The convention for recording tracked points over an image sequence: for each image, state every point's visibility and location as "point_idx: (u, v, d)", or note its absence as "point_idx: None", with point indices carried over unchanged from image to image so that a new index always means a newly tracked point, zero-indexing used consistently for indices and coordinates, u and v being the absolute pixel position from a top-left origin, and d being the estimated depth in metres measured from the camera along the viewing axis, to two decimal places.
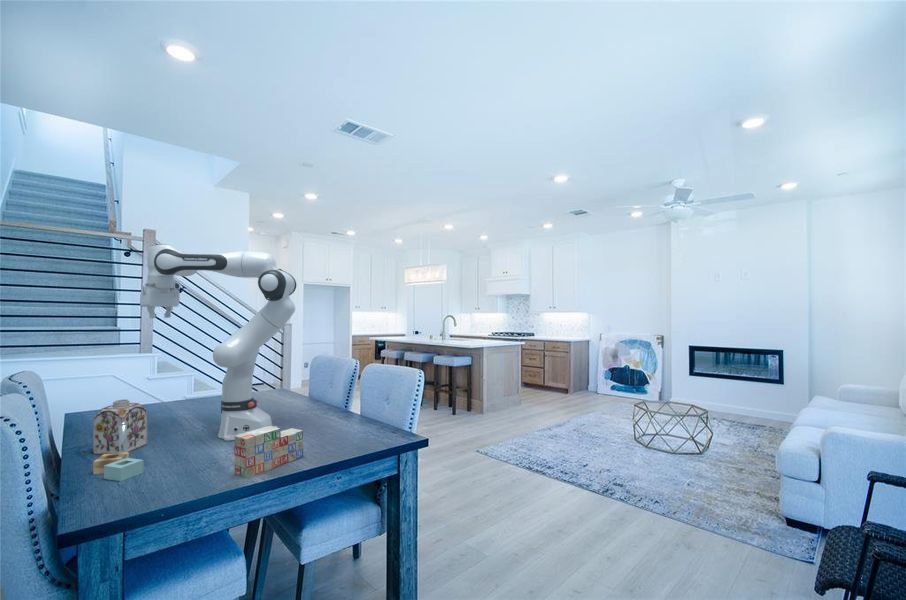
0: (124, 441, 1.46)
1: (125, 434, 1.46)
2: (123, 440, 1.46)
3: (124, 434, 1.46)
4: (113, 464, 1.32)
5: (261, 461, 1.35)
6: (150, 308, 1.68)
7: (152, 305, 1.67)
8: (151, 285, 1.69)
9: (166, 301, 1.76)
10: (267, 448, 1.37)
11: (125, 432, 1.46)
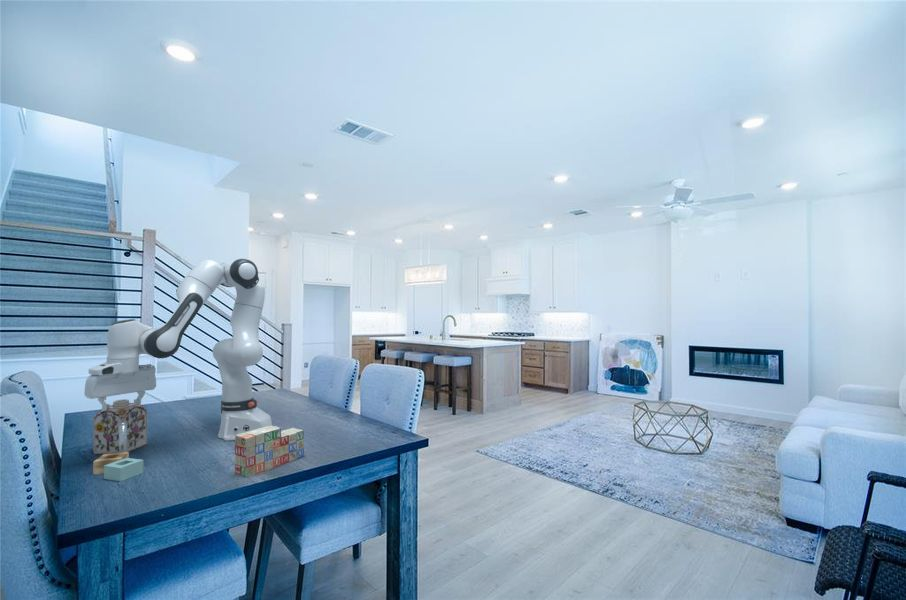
0: (124, 441, 1.46)
1: (125, 434, 1.46)
2: (123, 440, 1.46)
3: (124, 434, 1.46)
4: (113, 464, 1.32)
5: (261, 460, 1.35)
6: None
7: None
8: None
9: None
10: (267, 447, 1.37)
11: (125, 432, 1.46)
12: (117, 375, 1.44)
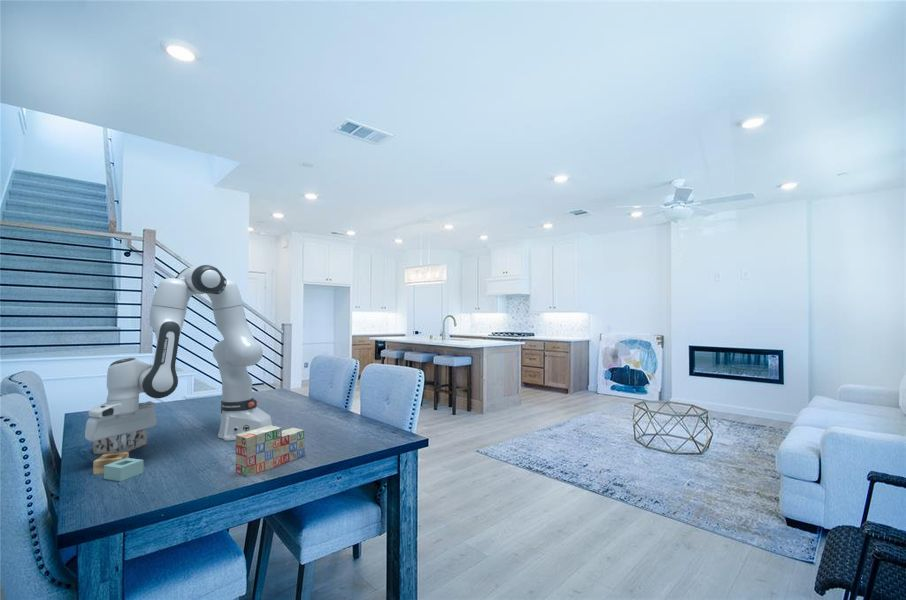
0: (124, 441, 1.46)
1: (125, 434, 1.46)
2: (123, 440, 1.46)
3: (124, 434, 1.46)
4: (113, 464, 1.32)
5: (262, 460, 1.36)
6: None
7: None
8: None
9: None
10: (268, 447, 1.38)
11: None
12: (117, 416, 1.44)
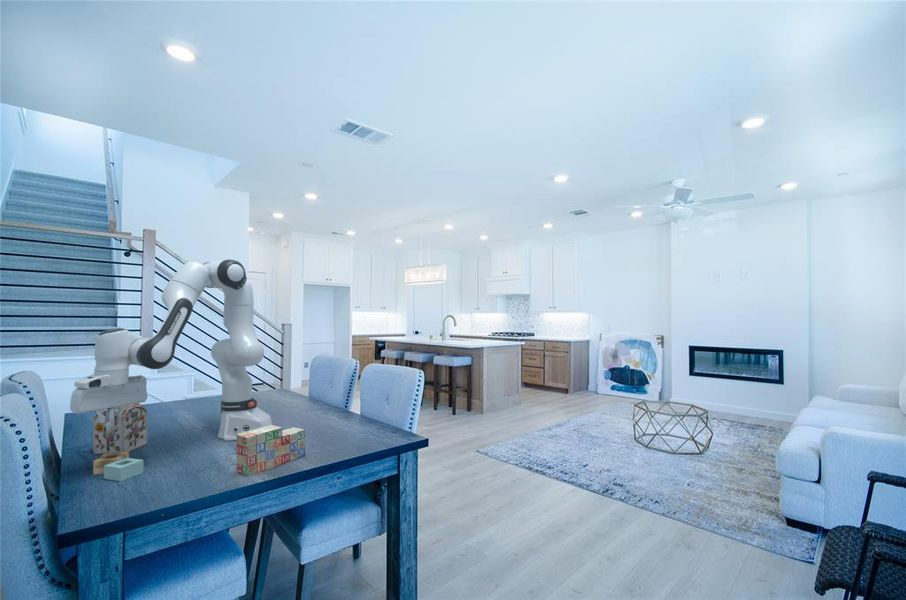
0: (112, 416, 1.38)
1: (113, 409, 1.38)
2: (111, 415, 1.38)
3: (112, 409, 1.38)
4: (113, 464, 1.32)
5: (262, 460, 1.36)
6: None
7: None
8: None
9: None
10: (269, 446, 1.38)
11: (113, 407, 1.39)
12: (105, 388, 1.36)
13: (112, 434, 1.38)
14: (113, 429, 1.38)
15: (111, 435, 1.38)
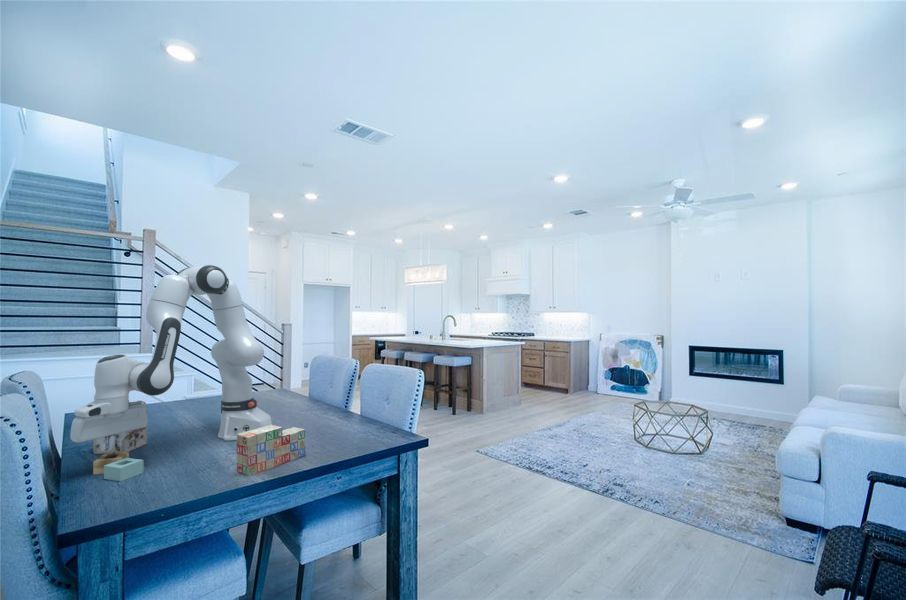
0: (112, 444, 1.38)
1: (113, 437, 1.38)
2: (111, 443, 1.38)
3: (112, 437, 1.38)
4: (113, 464, 1.32)
5: (263, 459, 1.36)
6: None
7: None
8: None
9: None
10: (269, 446, 1.38)
11: (113, 435, 1.38)
12: (105, 415, 1.36)
13: None
14: (114, 457, 1.39)
15: None
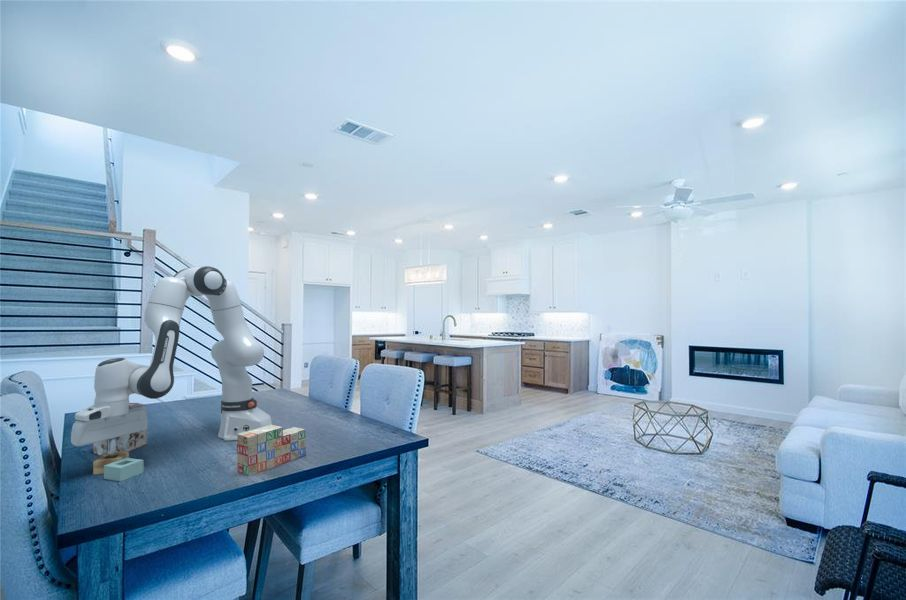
0: (113, 449, 1.38)
1: (114, 441, 1.39)
2: (112, 448, 1.38)
3: (113, 441, 1.38)
4: (113, 464, 1.32)
5: (263, 459, 1.37)
6: None
7: None
8: None
9: None
10: (269, 446, 1.38)
11: (114, 439, 1.39)
12: (106, 419, 1.36)
13: None
14: None
15: None
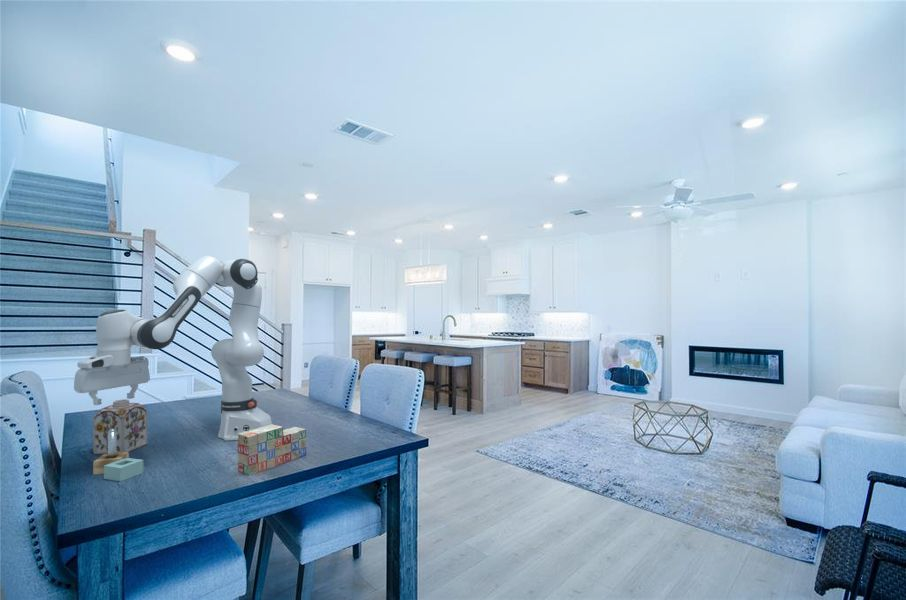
0: (113, 449, 1.38)
1: (114, 441, 1.39)
2: (112, 448, 1.38)
3: (113, 441, 1.38)
4: (113, 464, 1.32)
5: (264, 459, 1.37)
6: None
7: None
8: None
9: None
10: (270, 446, 1.39)
11: (114, 439, 1.39)
12: (108, 368, 1.37)
13: None
14: None
15: None
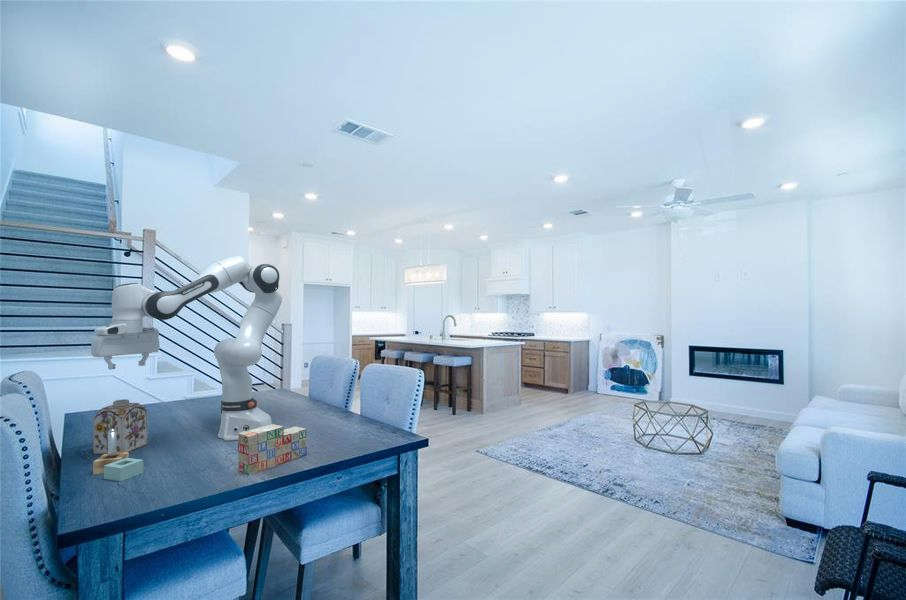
0: (113, 449, 1.38)
1: (114, 441, 1.39)
2: (112, 448, 1.38)
3: (113, 441, 1.38)
4: (113, 464, 1.32)
5: (264, 458, 1.37)
6: None
7: None
8: None
9: None
10: (270, 445, 1.39)
11: (114, 439, 1.39)
12: (122, 336, 1.49)
13: None
14: None
15: None
